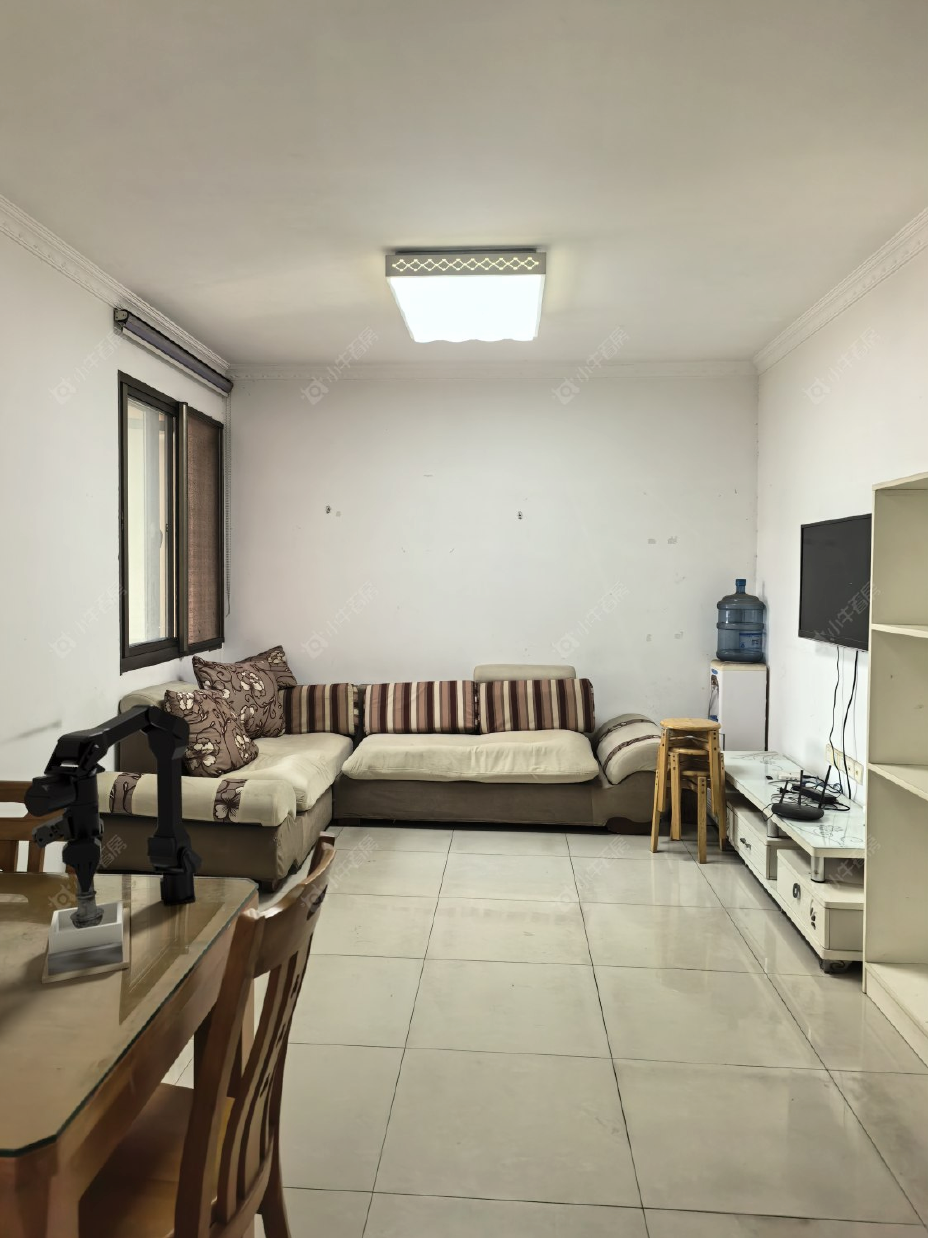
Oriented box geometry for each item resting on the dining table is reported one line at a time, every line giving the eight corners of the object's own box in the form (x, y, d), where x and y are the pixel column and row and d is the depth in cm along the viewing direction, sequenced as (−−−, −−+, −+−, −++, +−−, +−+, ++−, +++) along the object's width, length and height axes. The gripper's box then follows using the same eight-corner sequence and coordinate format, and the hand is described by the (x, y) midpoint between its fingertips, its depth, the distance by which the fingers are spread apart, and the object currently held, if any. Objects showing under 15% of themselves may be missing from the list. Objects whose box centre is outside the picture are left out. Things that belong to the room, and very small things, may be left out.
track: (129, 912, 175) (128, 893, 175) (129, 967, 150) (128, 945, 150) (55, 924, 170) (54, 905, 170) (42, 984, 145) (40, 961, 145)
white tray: (123, 927, 164) (122, 900, 164) (123, 952, 153) (121, 923, 153) (55, 938, 160) (54, 911, 160) (50, 965, 149) (48, 935, 148)
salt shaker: (96, 939, 153) (92, 875, 153) (64, 939, 154) (60, 875, 153) (111, 926, 159) (107, 863, 159) (80, 926, 160) (77, 864, 159)
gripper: (38, 795, 161) (43, 874, 162) (27, 821, 144) (33, 909, 145) (101, 787, 165) (105, 865, 166) (97, 812, 148) (103, 898, 149)
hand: (86, 883), depth 156 cm, fingers open, 9 cm apart
